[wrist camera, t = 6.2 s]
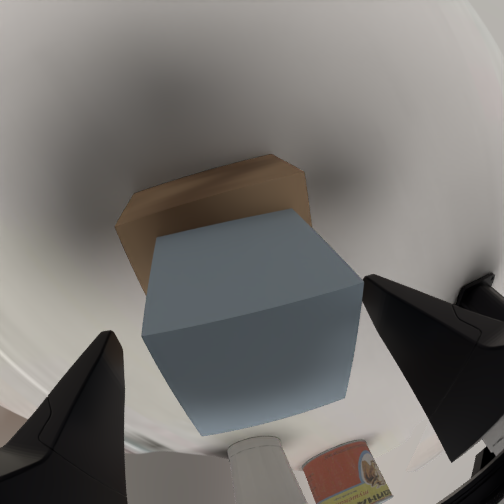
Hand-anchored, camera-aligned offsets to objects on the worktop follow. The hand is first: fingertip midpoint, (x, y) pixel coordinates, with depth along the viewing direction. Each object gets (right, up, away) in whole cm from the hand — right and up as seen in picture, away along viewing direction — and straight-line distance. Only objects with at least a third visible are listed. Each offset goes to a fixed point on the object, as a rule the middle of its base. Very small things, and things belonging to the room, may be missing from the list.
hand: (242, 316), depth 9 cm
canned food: (+14, -31, +28) cm, 44 cm away
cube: (0, +1, +2) cm, 2 cm away
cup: (+1, -21, +19) cm, 28 cm away
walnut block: (-1, +3, +6) cm, 7 cm away
